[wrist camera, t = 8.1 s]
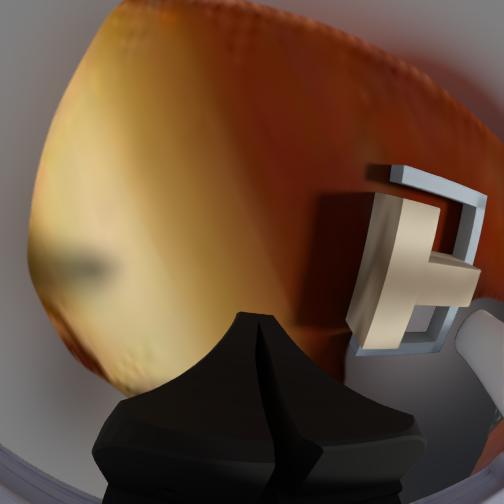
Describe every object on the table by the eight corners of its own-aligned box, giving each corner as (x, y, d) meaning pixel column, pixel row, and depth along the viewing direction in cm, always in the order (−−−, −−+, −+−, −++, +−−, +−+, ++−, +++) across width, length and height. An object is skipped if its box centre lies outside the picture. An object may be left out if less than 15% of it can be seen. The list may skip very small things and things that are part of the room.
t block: (429, 322, 21) (452, 344, 17) (345, 320, 21) (362, 349, 17) (461, 215, 18) (492, 225, 14) (375, 191, 18) (403, 198, 14)
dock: (430, 342, 22) (439, 352, 20) (349, 343, 21) (355, 356, 19) (473, 193, 18) (487, 195, 16) (391, 165, 17) (404, 165, 15)
